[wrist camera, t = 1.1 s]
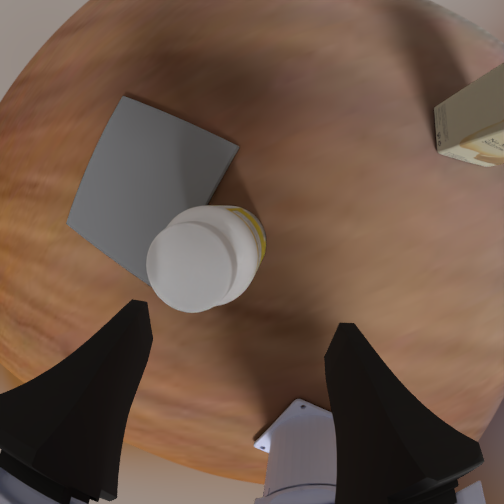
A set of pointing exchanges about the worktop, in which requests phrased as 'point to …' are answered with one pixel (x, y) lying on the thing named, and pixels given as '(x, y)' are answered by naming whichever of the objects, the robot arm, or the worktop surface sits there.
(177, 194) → the mat
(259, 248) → the supplement bottle
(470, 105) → the skincare box
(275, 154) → the worktop surface
